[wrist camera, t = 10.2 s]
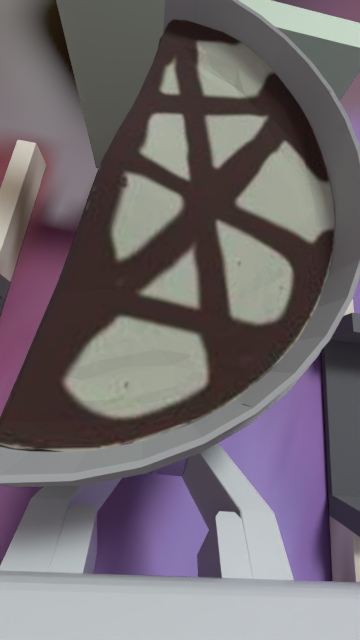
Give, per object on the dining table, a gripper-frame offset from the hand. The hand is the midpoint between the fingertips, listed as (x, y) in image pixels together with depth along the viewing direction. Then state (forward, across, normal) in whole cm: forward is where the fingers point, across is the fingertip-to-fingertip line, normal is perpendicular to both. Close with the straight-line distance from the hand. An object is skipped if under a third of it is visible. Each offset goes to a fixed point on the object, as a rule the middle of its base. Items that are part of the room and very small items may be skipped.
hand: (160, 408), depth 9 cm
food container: (+6, +1, 0) cm, 6 cm away
